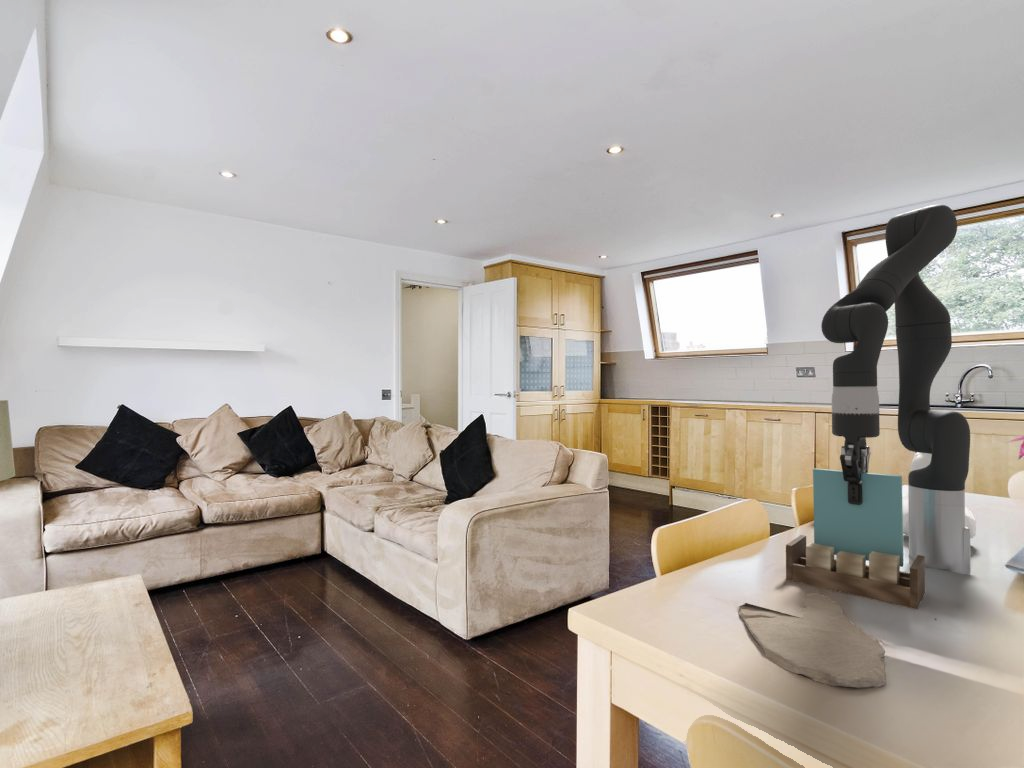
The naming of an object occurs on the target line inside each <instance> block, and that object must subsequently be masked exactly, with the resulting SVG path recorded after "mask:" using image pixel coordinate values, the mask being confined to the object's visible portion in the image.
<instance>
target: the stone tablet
mask: <svg viewBox="0 0 1024 768" xmlns="http://www.w3.org/2000/svg"><path fill="white" fill-rule="evenodd" d="M801 601H802V602H803V603H802V605H803V606H805V607H803V608H799V610H800V611H801V612H802V617H800V616H796V615H792V614H789V613H788V614H787V613H785V612H780V611H777V610H773V609H769V608H765V607H763V606H758V605H755V604H751V603H748V602H747V603H743V604H742V605H739V608H738V610H737V611H738V614H739V616H740V619H741V620H742V621H744V624H745V626H746V627H747V628H748V630H749V632H750V634H751V636H752V637H753V638H754V640H755V641H756V642H757V643H758V645H760V647H761V648H762V650H763V652H764V655H765V656H766V658H768V659H770V660H772V661H773V663H775V665H778V666H779V667H781V668H782V669H784V670H786V671H788V672H791V673H792V674H796V675H803V676H805V677H808V678H810V679H811V680H813V681H815V682H818V683H822V684H825V685H830V686H835V687H839V686H840V687H844V688H858V689H862V688H865V689H867V688H876V689H879V688H881V687H883V686H885V685H886V683H887V682H886V669H885V665H884V663H883V662H885V659H886V655H885V654H886V650H885V648H884V647H883V645H882V644H880V643H879V642H878V641H877V639H875V638H873V636H870V635H868V634H867V633H866V632H864V631H863V630H862V628H860V627H859V626H857V625H856V624H855V623H853V622H852V621H851V620H850V619H849V618H848V617H846V615H845V614H844V612H843V609H842V606H841V605H839V604H838V602H837V601H835V600H833V599H831V598H830V597H828V596H826V595H823V594H821V593H816V592H815V593H814V592H813V593H807V594H805V595H804V598H802V599H801Z"/></svg>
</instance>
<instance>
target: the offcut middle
mask: <svg viewBox="0 0 1024 768" xmlns="http://www.w3.org/2000/svg"><path fill="white" fill-rule="evenodd" d="M835 556H836V558H835V559H836V572H838V573H843V574H848V575H853V576H857V577H862V578H866V565H867V563H866V562H867V560H866V555H860V554H855V553H849V552H844V551H840V552H839V553H837V554H836V555H835Z"/></svg>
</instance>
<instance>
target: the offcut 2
mask: <svg viewBox="0 0 1024 768" xmlns="http://www.w3.org/2000/svg"><path fill="white" fill-rule="evenodd" d="M868 565H869V579H872V580H877V581H882V582H887V583H891V584H896V585H900V571H901V570H900V569H901V567H900V556H897V555H892V554H886V553H880V552H875V551H872V552H871V553H870V554H869V561H868Z"/></svg>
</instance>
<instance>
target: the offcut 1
mask: <svg viewBox="0 0 1024 768" xmlns="http://www.w3.org/2000/svg"><path fill="white" fill-rule="evenodd" d="M834 559H835V555H834V547H831V546H825V545H820V544H814V542H810V543H808V544H806V566H809V567H814V568H819V569H824V570H828V571H833V572H834Z"/></svg>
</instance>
